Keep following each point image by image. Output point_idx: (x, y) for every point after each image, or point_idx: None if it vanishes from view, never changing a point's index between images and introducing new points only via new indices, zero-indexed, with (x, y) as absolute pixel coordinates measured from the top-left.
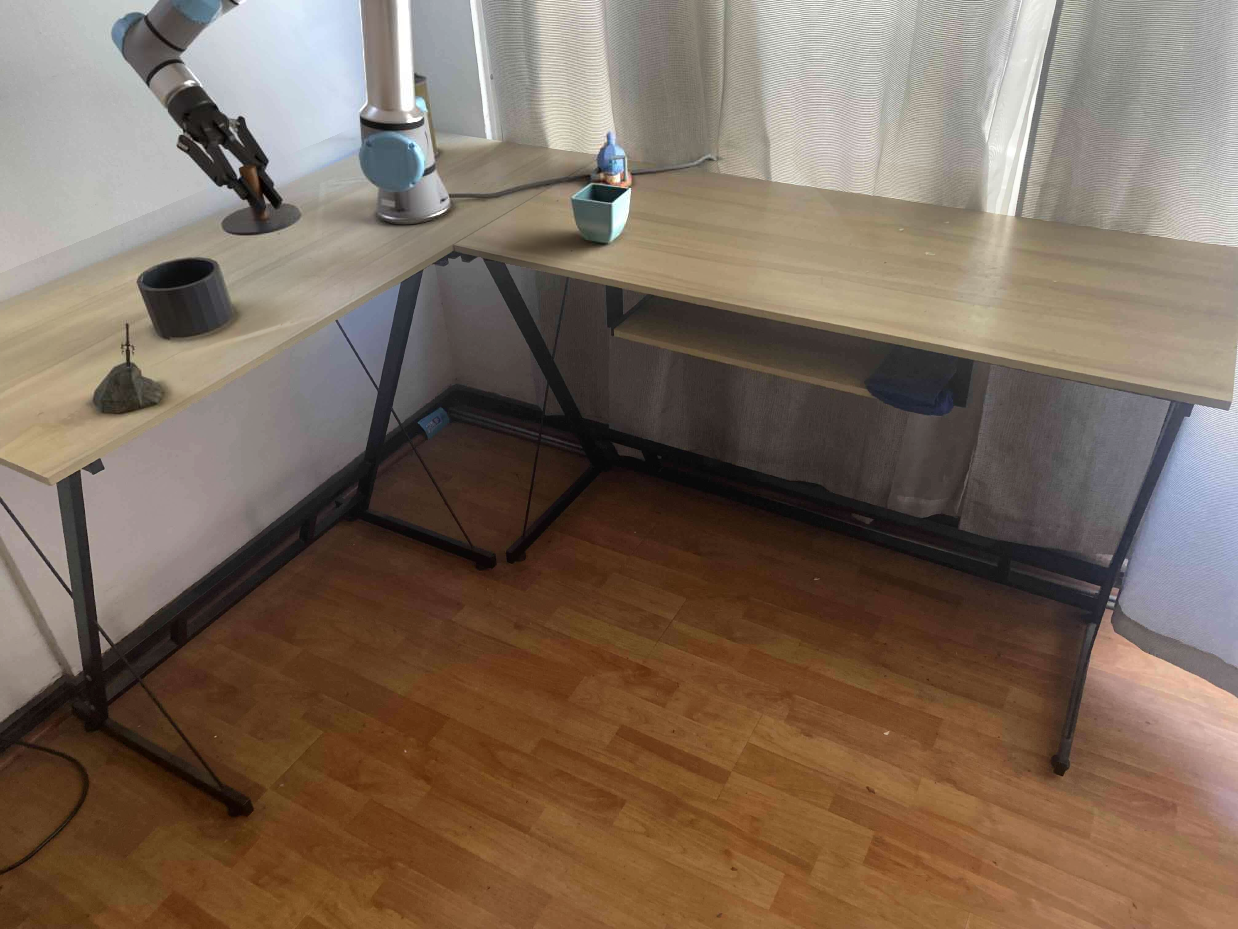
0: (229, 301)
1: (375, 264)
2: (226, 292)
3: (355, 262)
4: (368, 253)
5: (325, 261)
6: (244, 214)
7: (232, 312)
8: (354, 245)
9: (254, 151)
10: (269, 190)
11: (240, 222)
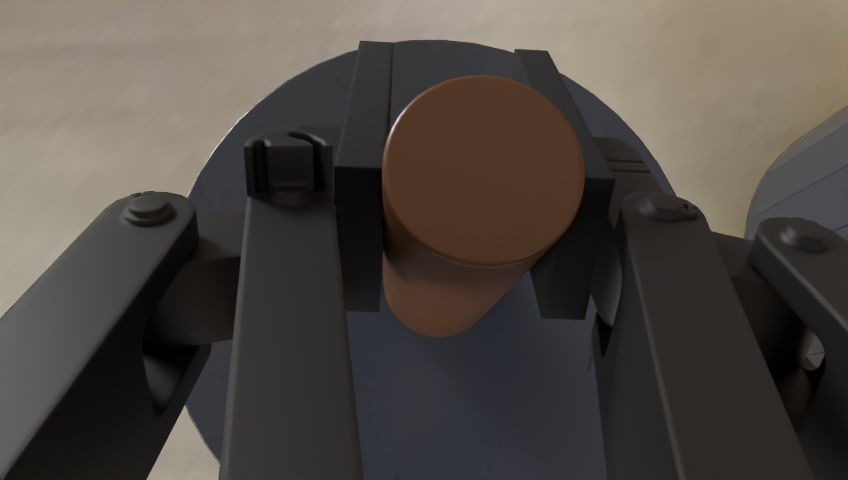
0: (812, 135)
1: (149, 22)
2: (837, 118)
3: (168, 110)
4: (66, 127)
5: None
6: (461, 445)
7: (792, 145)
8: (14, 252)
9: (122, 357)
10: (389, 103)
11: (573, 339)
